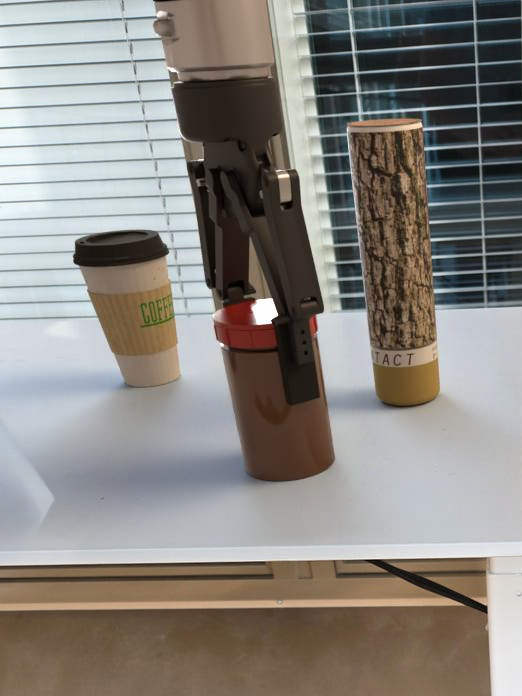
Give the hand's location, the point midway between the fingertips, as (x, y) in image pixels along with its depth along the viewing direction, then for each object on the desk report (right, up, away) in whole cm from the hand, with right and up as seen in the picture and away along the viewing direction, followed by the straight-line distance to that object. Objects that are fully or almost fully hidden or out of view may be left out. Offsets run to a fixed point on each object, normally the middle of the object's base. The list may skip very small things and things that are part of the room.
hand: (277, 387), depth 76 cm
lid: (0, +5, -3) cm, 6 cm away
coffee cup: (-20, +8, +26) cm, 34 cm away
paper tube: (+10, +4, +17) cm, 20 cm away
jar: (0, -6, +4) cm, 7 cm away
